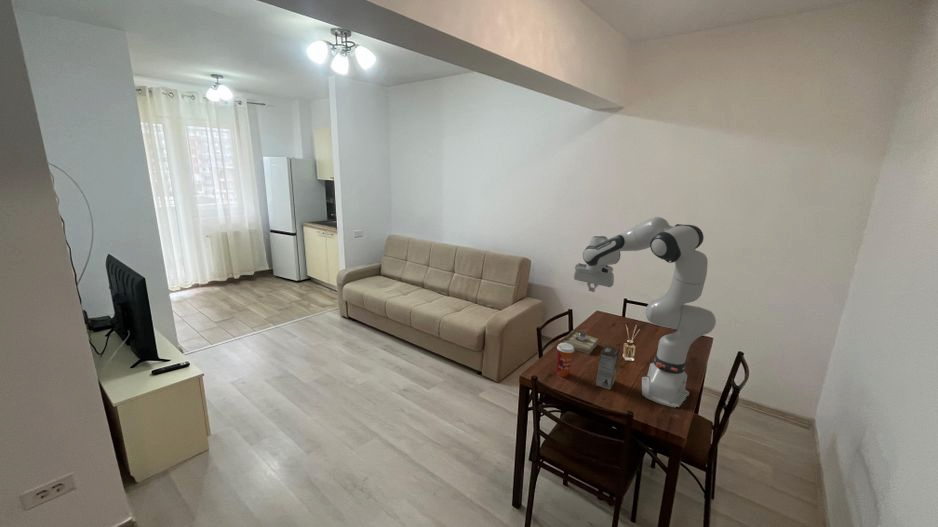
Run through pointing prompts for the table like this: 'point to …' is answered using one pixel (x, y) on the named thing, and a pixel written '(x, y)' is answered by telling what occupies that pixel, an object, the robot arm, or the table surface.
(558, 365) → the paper cup
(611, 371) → the coffee box
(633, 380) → the table surface
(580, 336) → the bushing
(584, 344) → the block
